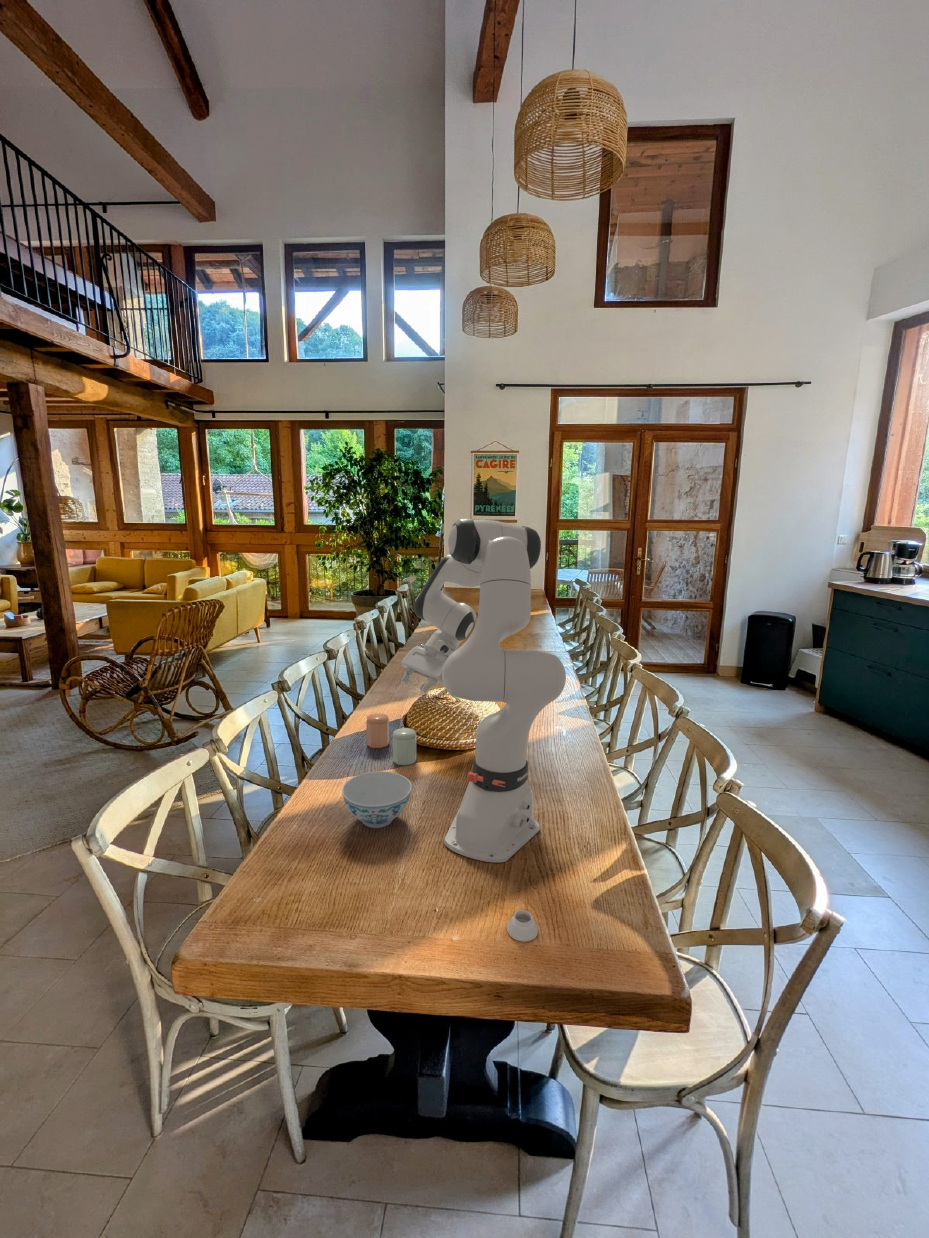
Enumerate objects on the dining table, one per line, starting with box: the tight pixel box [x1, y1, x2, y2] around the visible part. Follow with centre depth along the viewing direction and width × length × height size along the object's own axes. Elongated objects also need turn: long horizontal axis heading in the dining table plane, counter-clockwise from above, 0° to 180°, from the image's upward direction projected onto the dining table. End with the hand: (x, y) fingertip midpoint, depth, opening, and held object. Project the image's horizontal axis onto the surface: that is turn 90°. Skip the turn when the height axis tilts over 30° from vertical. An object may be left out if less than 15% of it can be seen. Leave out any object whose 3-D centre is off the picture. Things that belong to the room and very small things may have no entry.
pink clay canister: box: [365, 713, 390, 749], centre depth 162 cm, size 6×6×8 cm
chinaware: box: [341, 770, 413, 829], centre depth 124 cm, size 15×15×8 cm
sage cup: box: [392, 727, 417, 766], centre depth 152 cm, size 6×6×8 cm
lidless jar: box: [506, 909, 539, 943], centre depth 93 cm, size 5×3×5 cm
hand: (412, 686), depth 168 cm, fingers open, 8 cm apart
